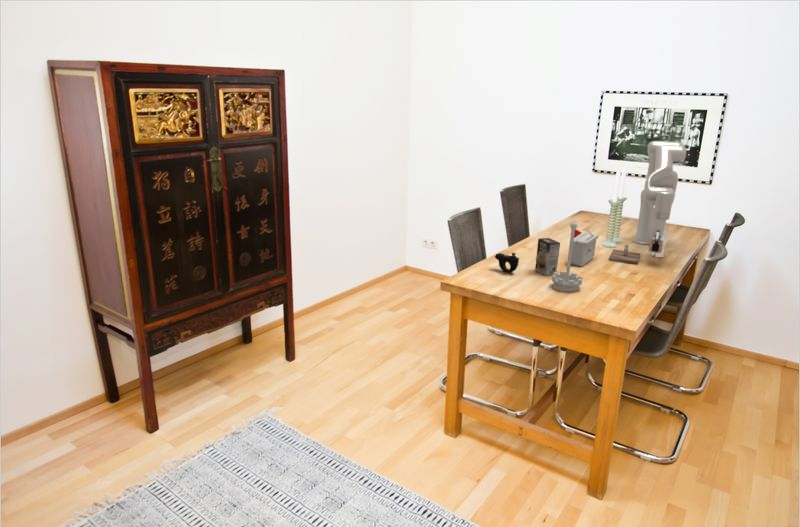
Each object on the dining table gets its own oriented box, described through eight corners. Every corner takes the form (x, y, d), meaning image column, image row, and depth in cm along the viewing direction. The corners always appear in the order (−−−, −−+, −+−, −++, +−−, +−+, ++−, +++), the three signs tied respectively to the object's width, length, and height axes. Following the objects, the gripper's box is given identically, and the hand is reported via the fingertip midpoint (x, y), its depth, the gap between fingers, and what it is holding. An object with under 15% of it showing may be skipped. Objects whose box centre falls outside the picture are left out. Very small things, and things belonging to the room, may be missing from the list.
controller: (514, 275, 262) (516, 255, 258) (492, 269, 270) (494, 249, 267) (519, 273, 264) (521, 253, 261) (497, 267, 273) (499, 248, 270)
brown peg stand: (613, 251, 304) (615, 238, 301) (640, 256, 298) (642, 242, 295) (608, 260, 288) (610, 246, 286) (637, 264, 282) (639, 250, 280)
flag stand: (563, 294, 240) (572, 227, 231) (545, 284, 251) (552, 220, 242) (587, 290, 245) (596, 224, 236) (568, 281, 256) (576, 217, 247)
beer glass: (665, 258, 294) (670, 231, 290) (651, 257, 296) (656, 230, 291) (662, 254, 301) (667, 227, 296) (649, 253, 302) (653, 227, 298)
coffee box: (534, 270, 270) (537, 238, 265) (545, 268, 273) (548, 237, 268) (545, 276, 262) (549, 243, 257) (556, 274, 265) (560, 242, 260)
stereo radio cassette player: (580, 255, 296) (585, 218, 290) (595, 258, 292) (600, 221, 286) (566, 264, 280) (571, 226, 274) (583, 268, 276) (588, 229, 269)
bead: (649, 248, 287) (650, 239, 285) (661, 250, 284) (663, 240, 282) (648, 251, 282) (649, 242, 280) (661, 253, 279) (662, 243, 277)
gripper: (654, 210, 285) (648, 244, 291) (652, 218, 271) (645, 252, 277) (670, 212, 282) (664, 246, 288) (668, 220, 268) (662, 255, 274)
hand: (655, 249), depth 283 cm, fingers closed on bead, 6 cm apart
